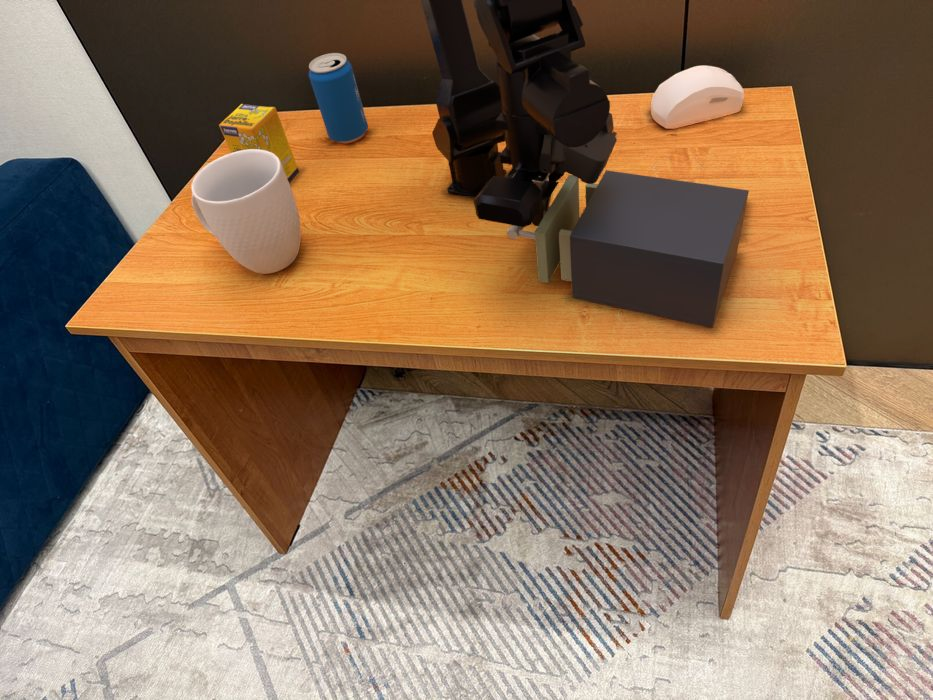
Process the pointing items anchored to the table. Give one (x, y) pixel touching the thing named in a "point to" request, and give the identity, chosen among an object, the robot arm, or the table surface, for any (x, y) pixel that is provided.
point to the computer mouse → (696, 97)
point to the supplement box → (259, 134)
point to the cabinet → (657, 246)
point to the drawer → (556, 230)
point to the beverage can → (338, 97)
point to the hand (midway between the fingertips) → (539, 224)
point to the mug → (249, 209)
